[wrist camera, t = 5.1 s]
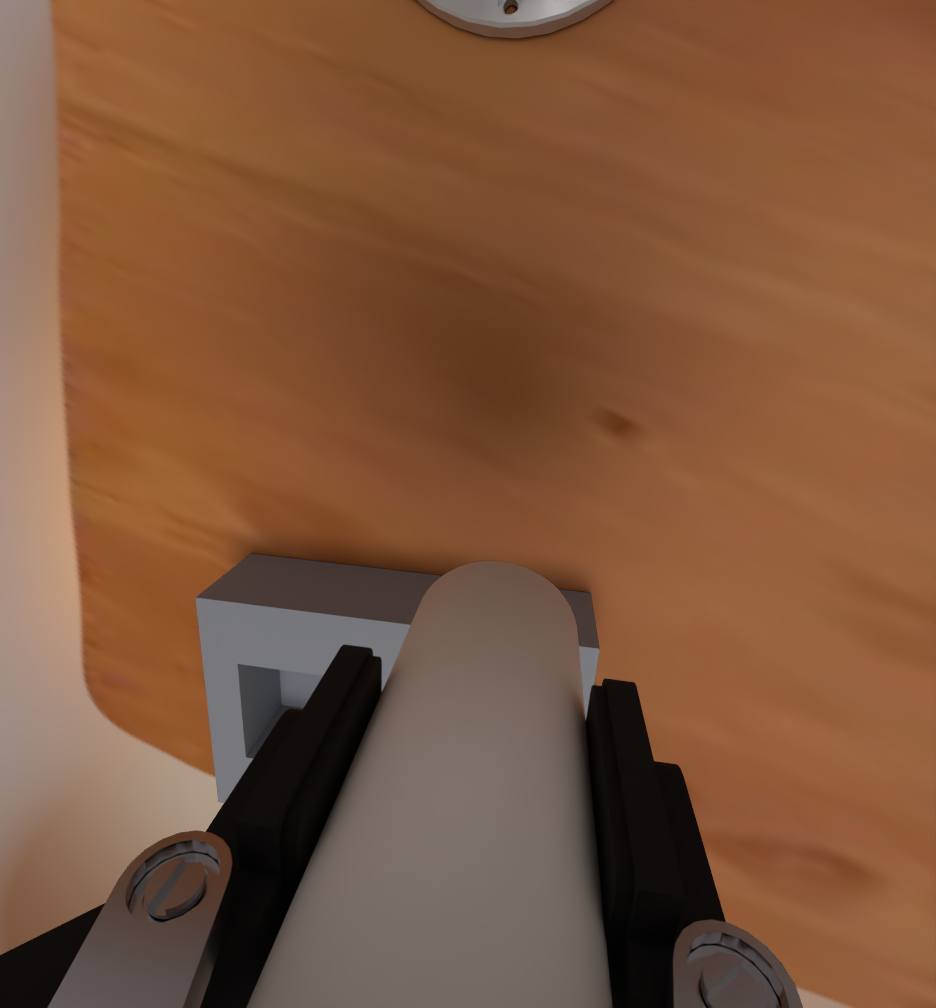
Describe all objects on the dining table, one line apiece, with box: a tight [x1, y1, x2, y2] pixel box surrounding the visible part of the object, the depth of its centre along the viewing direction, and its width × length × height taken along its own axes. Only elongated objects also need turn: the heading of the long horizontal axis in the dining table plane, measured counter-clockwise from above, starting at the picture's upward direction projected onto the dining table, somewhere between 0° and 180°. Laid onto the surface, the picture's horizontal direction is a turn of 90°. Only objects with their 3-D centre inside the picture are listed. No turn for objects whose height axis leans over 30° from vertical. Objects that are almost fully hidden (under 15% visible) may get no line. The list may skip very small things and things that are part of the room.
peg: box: [246, 561, 613, 1008], centre depth 9 cm, size 4×4×10 cm
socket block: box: [196, 554, 600, 803], centre depth 27 cm, size 12×18×8 cm, turn 87°
